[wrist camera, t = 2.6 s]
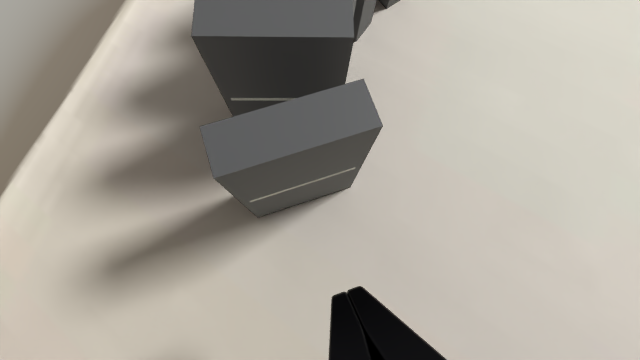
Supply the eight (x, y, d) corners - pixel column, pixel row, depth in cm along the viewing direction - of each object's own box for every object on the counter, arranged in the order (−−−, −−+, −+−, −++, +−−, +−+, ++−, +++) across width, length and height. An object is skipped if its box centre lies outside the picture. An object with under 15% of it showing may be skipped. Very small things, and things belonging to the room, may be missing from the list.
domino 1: (335, 135, 18) (354, 38, 10) (242, 135, 18) (191, 36, 10) (334, 106, 19) (352, -7, 11) (243, 106, 18) (195, -9, 11)
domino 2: (350, 187, 17) (383, 126, 10) (257, 218, 17) (214, 179, 9) (339, 158, 18) (363, 77, 10) (248, 187, 17) (199, 125, 9)
